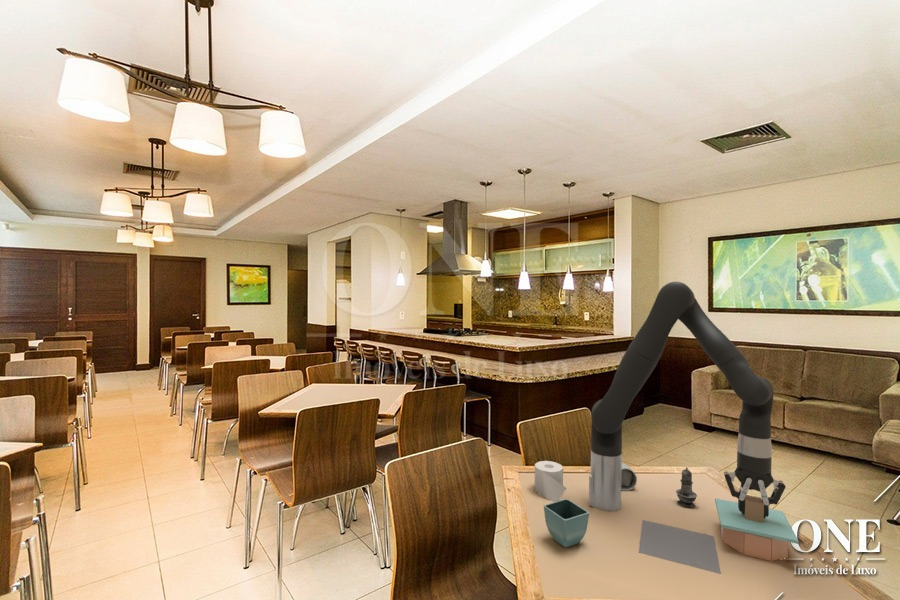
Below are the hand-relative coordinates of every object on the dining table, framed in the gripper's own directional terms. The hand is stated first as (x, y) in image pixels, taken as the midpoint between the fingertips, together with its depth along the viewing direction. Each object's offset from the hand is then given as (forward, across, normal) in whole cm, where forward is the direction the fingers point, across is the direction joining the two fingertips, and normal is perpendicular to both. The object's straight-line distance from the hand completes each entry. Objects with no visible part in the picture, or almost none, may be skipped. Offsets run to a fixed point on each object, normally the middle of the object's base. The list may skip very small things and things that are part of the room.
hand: (752, 514), depth 114 cm
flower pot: (+9, +45, +22) cm, 51 cm away
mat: (+8, +18, +10) cm, 22 cm away
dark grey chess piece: (+8, +15, -17) cm, 24 cm away
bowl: (+8, 0, 0) cm, 8 cm away
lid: (+2, 0, 0) cm, 2 cm away
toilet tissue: (+9, +56, -4) cm, 56 cm away
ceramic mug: (+9, +36, -21) cm, 42 cm away
